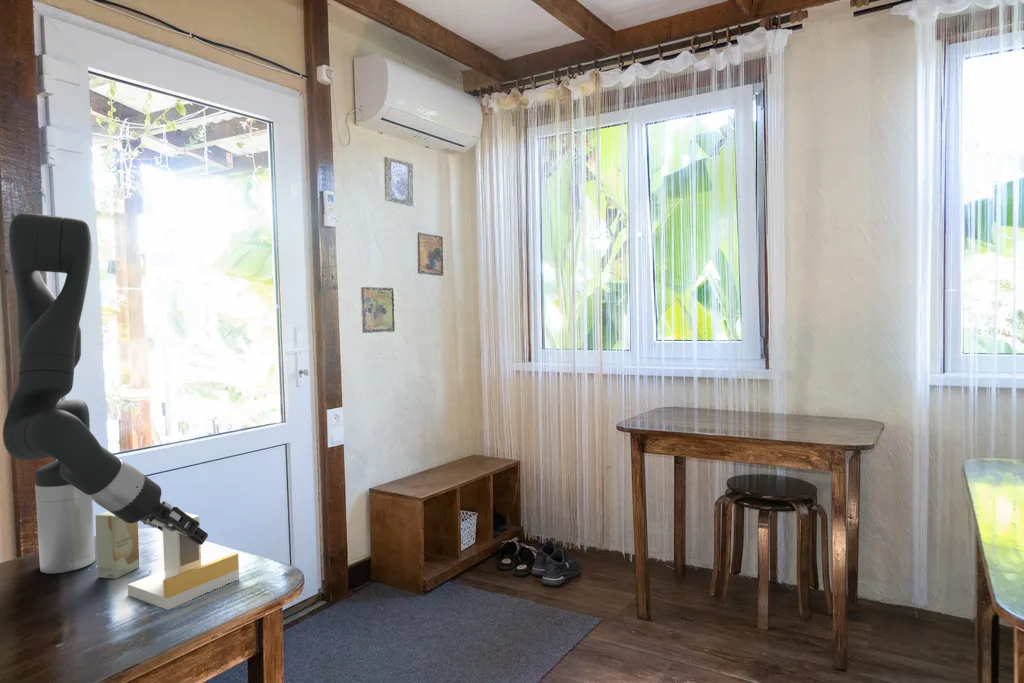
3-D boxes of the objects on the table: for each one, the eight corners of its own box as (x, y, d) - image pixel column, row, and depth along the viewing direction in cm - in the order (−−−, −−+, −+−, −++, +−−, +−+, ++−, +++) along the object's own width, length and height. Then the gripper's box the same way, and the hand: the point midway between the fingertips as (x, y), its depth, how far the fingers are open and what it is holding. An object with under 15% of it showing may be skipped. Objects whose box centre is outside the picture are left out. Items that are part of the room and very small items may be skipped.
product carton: (164, 578, 120) (162, 518, 119) (187, 569, 123) (185, 512, 123) (179, 583, 117) (176, 523, 116) (202, 574, 121) (199, 516, 120)
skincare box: (115, 579, 124) (112, 516, 123) (96, 578, 125) (93, 515, 124) (141, 566, 130) (138, 506, 130) (122, 565, 131) (119, 505, 130)
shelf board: (128, 595, 117) (126, 567, 117) (199, 567, 129) (198, 542, 129) (167, 610, 111) (166, 581, 111) (239, 579, 123) (238, 553, 123)
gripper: (163, 476, 109) (226, 523, 119) (115, 466, 116) (179, 512, 127) (132, 516, 105) (201, 562, 115) (85, 504, 112) (153, 548, 122)
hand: (189, 536), depth 121 cm, fingers open, 8 cm apart
